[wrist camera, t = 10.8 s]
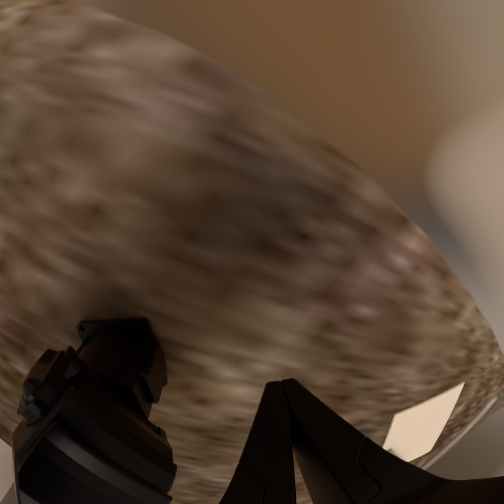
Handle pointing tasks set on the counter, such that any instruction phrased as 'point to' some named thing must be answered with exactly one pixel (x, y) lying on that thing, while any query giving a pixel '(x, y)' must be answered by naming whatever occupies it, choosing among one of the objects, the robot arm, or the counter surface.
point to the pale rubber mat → (420, 425)
